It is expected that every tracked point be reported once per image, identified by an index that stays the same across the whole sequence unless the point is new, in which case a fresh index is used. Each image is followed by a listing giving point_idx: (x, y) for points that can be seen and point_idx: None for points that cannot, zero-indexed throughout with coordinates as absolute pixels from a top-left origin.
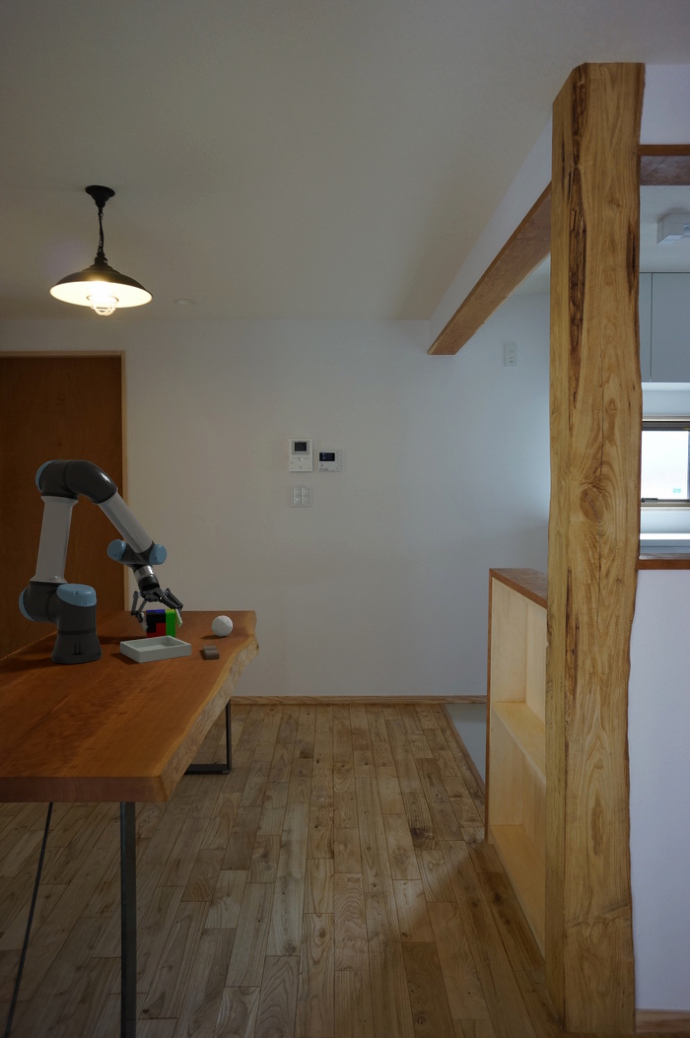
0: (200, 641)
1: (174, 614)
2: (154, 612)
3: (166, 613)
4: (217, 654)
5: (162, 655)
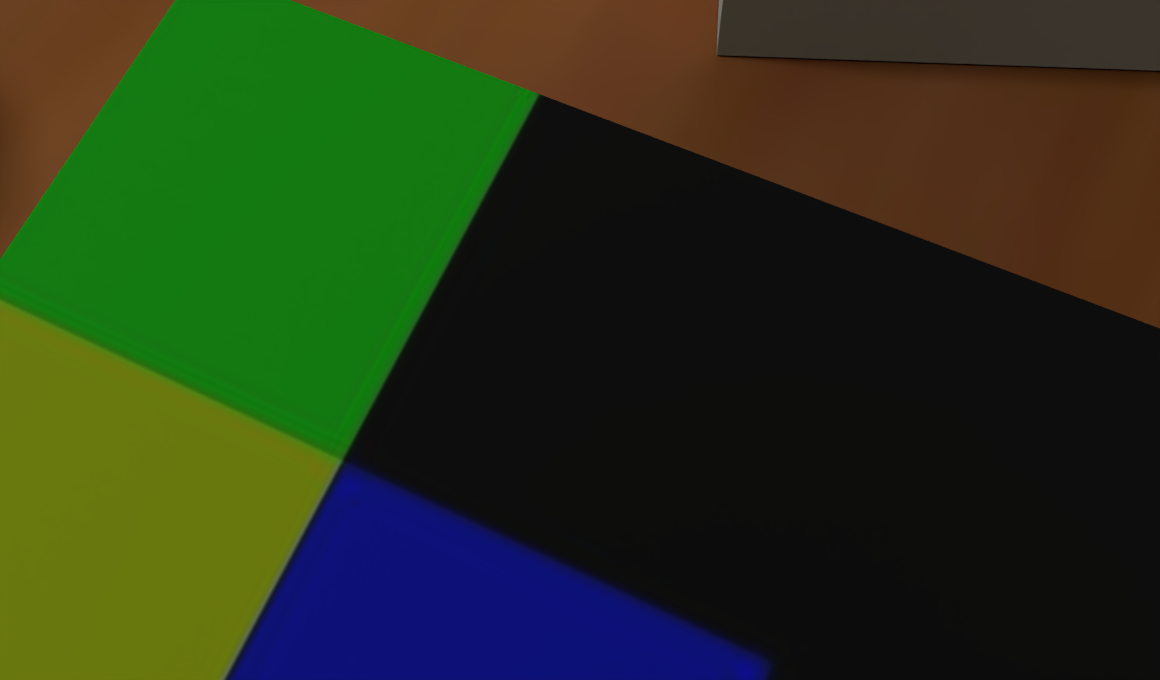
0: (142, 25)
1: (251, 8)
2: None
3: (498, 123)
4: None
5: None
